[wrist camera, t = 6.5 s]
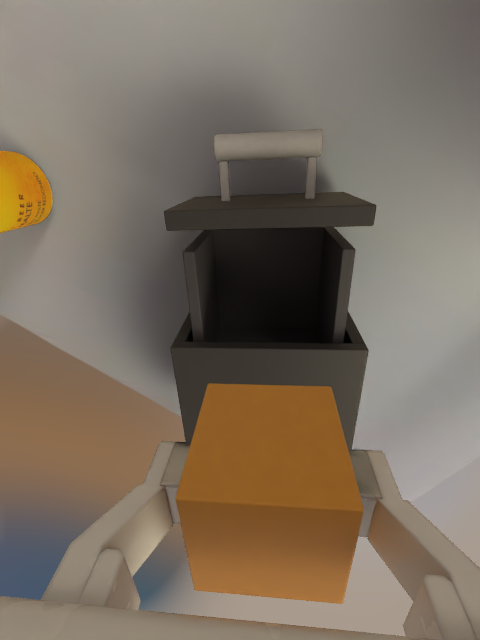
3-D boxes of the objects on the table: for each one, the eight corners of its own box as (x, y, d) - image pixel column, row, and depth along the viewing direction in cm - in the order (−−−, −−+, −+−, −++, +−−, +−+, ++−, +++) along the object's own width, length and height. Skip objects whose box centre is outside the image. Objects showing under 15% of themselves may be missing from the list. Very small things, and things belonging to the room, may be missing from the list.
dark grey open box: (200, 292, 32) (170, 347, 22) (337, 291, 31) (368, 350, 21) (211, 400, 38) (191, 479, 29) (325, 403, 37) (345, 487, 27)
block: (331, 385, 10) (365, 510, 7) (321, 470, 12) (343, 605, 9) (207, 382, 11) (174, 498, 7) (216, 465, 13) (193, 591, 9)
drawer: (189, 140, 25) (151, 130, 17) (350, 132, 24) (390, 117, 16) (207, 329, 33) (187, 383, 25) (329, 330, 32) (349, 386, 24)
